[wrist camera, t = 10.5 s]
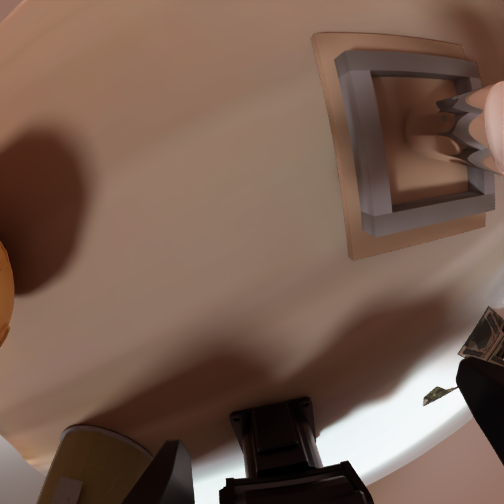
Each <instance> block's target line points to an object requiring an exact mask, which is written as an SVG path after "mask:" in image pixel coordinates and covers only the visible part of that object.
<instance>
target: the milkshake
mask: <svg viewBox="0 0 504 504" xmlns="http://www.w3.org/2000/svg"><path fill="white" fill-rule="evenodd" d="M404 136H405V138H406V140H407V142H408V144H409V146H410V148H411V150H413V151H414V152H416V153H418V154H419V155H421V156H423V157H426V158H431V159H436V160H441V161H446V162H451V163H455V164H460V165H464V166H469V167H473V168H477V169H481V170H484V171H487V172H491V173H494V174H497V175H500V176H503V177H504V81H501V82H498V83H494V84H491V85H488V86H484V87H481V88H478V89H475V90H472V91H469V92H466V93H463V94H460V95H457V96H453V97H450V98H446V99H443V100H440V101H436V102H433V103H430V104H427V105H423V106H420V107H417V108H414V109H412V110H411V111H410V113H409V114H408V116H407V117H406V119H405V120H404Z"/></svg>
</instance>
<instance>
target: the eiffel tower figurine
mask: <svg viewBox="0 0 504 504" xmlns="http://www.w3.org/2000/svg"><path fill="white" fill-rule="evenodd" d="M458 355H460V356H462V357H463V358H467V357H469V356H473V357H476V358H479V359H482V360H485V361H488V362H491V363H495V364H498V365H501V366H504V360H503V359H504V320H503V319H502V318H501V317H500V316H499V315H498V314H497V313H496V312H495V311H494V310H492V309H491V308H490V307H489V306H488V308H487V310H486V311H485V313H484V315H483V316H482V318H481V319H480V321H479V323H478V324H477V326H476V327H475V329H474V330H473V332H472V333H471V335H470V336H469V338H468V339H467V341H466V342H465V344H464V345H463V347H462V348H461V349H460V351H459V352H458ZM457 388H458V386H457V387H455V388H451V389H447V390H445V389H443V388H440V387H436V388H434V389H433V390H432V391H431V392H430V393H429V394H427V395H426V396H425V397H424V402H423V406H425V405H427V404H429V403H431V402H433V401H435V400H437V399H439V398H441V397H442V396H444V395H446V394H448V393H450V392H451V391H453V390H455V389H457Z"/></svg>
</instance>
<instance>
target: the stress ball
mask: <svg viewBox="0 0 504 504" xmlns="http://www.w3.org/2000/svg"><path fill="white" fill-rule="evenodd" d="M13 305H14V279H13V272H12V268H11V264H10V261H9V257H8V253H7V251H6V249H5V248H4V246H3V244H2V242H1V241H0V347H1V346H2V344H3V342H4V341H5V339H6V337H7V335H8V332H9V330H10V327H9V322H10V319H11V315H12V311H13Z"/></svg>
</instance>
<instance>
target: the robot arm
mask: <svg viewBox="0 0 504 504" xmlns="http://www.w3.org/2000/svg"><path fill="white" fill-rule="evenodd" d="M456 383H457V386H458V388H459V389H460V391H461V393H462V395H463V397H464V399H465V401H466V403H467V405H468V407H469V409H470V411H471V413H472V415H473V417H474V418H475V420H476V422H477V423H478V425H479V426H480V428H481V429H482V431H483V432H484V434H485V436H486V437H487V439H488V441H489V442H490V444H491V445H492V447H493V449H494V450H495V452H496V454H497V455H498V457H499V459H500V460H501V462H502V464H503V465H504V366H501V365H498V364H495V363H491V362H488V361H485V360H482V359H479V358H476V357H473V356H469V357H467V358H465V359H463V360H461V362H460V364H459V368H458V372H457V376H456ZM304 403H305V404H304ZM235 417H238V418H235ZM230 421H231V424H232V426H233V429H234V432H235V434H236V437H237V439H238V442H239V444H240V447H241V449H242V452H243V454H244V463H245V472H246V478H241V479H234V478H226V486H225V487H223V489H221V490H219V502H220V504H374V502H373V499H372V497H371V494H370V493H369V491H368V489H367V488H366V486H365V485H364V484H363V482H362V481H361V479H360V478H359V476H358V475H357V473H356V472H355V470H354V469H353V467H352V466H351V464H350V463H349V461H344V462H341V463H340V464H336V465H331V466H326V467H323V465H322V461H321V458H320V455H319V452H318V449H317V446H316V436H315V427H314V417H313V408H312V402H311V400H310V398H308V397H304V398H300V399H296V400H292V401H287V402H283V403H278V404H274V405H269V406H264V407H259V408H254V409H249V410H243V411H238V412H233V413H231V414H230ZM120 504H195V500H194V489H193V479H192V467H191V458H190V455H189V453H188V451H187V449H186V448H185V446H184V444H183V442H182V441H181V440H180V439H169V440H167V441H165V443H164V444H163V445H162V447H161V448H160V450H159V451H158V452H157V454H156V455H155V457H154V458H153V459H152V461H151V462H150V464H149V465H148V466H147V468H146V469H145V471H144V472H143V473H142V475H141V476H140V477H139V479H138V480H137V482H136V483H135V484H134V486H133V487H132V488H131V490H130V491H129V493H128V494H127V495H126V497H125V498H124V499H123V501H122V502H121V503H120Z"/></svg>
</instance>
